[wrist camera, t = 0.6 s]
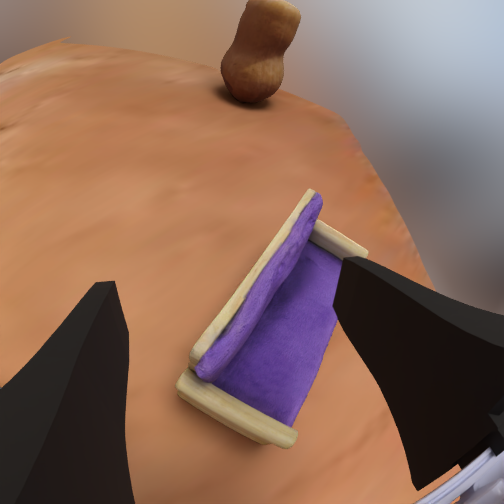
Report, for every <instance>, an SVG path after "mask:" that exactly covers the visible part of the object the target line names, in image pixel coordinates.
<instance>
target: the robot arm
mask: <svg viewBox="0 0 504 504" xmlns="http://www.w3.org/2000/svg"><path fill="white" fill-rule="evenodd" d="M332 307H333V309H334V311H335V314H336V316H337V318H338V320H339V322H340V324H341V326H342V328H343V330H344V332H345V334H346V335H347V337H348V338H349V340H350V341H351V343H352V344H353V346H354V348H355V349H356V351H357V352H358V354H359V355H360V357H361V358H362V360H363V361H364V363H365V364H366V366H367V367H368V369H369V371H370V372H371V374H372V375H373V377H374V378H375V380H376V382H377V384H378V385H379V387H380V389H381V391H382V393H383V396H384V398H385V400H386V402H387V404H388V406H389V409H390V411H391V413H392V416H393V418H394V421H395V423H396V426H397V428H398V431H399V434H400V437H401V440H402V443H403V446H404V450H405V453H406V457H407V461H408V465H409V469H410V474H411V479H412V483H413V485H414V486H415V488H416V490H417V491H419V490H421V489H422V488H424V487H425V486H427V485H428V484H430V483H431V482H433V481H434V480H436V479H437V478H439V477H440V476H442V475H443V474H445V473H446V472H447V471H449V470H450V469H452V468H453V467H454V466H456V465H457V464H458V465H459V466H460V468H461V469H462V470H460V471H459V472H458V473H457V474H455V475H454V476H453V477H451V478H450V479H449V480H447V481H446V482H445V483H443V484H442V485H440V486H439V487H437V488H436V489H435V490H433V491H432V492H430V493H429V494H427V495H426V496H424V497H422V498H421V499H419V500H418V501H416V502H415V503H413V504H450V503H451V502H452V501H454V500H455V499H456V498H457V497H459V496H460V500H459V501H457V502H455V503H454V504H504V315H500V314H496V313H492V312H489V311H485V310H482V309H478V308H475V307H472V306H469V305H467V304H464V303H461V302H459V301H456V300H453V299H451V298H448V297H446V296H444V295H442V294H439V293H437V292H435V291H433V290H431V289H429V288H426V287H424V286H422V285H420V284H418V283H416V282H414V281H412V280H410V279H408V278H406V277H404V276H402V275H400V274H398V273H396V272H394V271H392V270H390V269H388V268H386V267H384V266H381V265H379V264H377V263H375V262H373V261H370V260H368V259H365V258H363V257H360V256H353V257H345V258H343V261H342V266H341V270H340V275H339V279H338V284H337V288H336V292H335V297H334V301H333V305H332ZM128 370H129V331H128V328H127V325H126V321H125V318H124V314H123V311H122V307H121V303H120V300H119V296H118V292H117V288H116V284H115V281H106V282H96V283H95V284H94V285H93V286H92V287H91V288H90V289H89V290H88V292H87V293H86V294H85V295H84V297H83V298H82V299H81V300H80V301H79V303H78V304H77V305H76V306H75V308H74V309H73V310H72V311H71V313H70V314H69V315H68V316H67V317H66V319H65V320H64V321H63V322H62V324H61V325H60V326H59V327H58V328H57V330H56V331H55V332H54V333H53V334H52V335H51V337H50V338H49V339H48V340H47V341H46V342H45V344H44V345H43V346H42V347H41V348H40V350H39V351H38V352H37V353H36V354H35V355H34V356H33V357H32V358H31V359H30V361H29V362H28V363H27V364H26V365H25V366H24V367H23V368H22V369H21V370H20V371H19V372H18V373H17V374H16V375H15V376H14V377H13V378H12V379H11V380H10V381H9V382H8V383H6V384H5V385H4V386H3V387H2V388H1V389H0V504H135V501H134V496H133V491H132V486H131V480H130V474H129V467H128V460H127V451H126V441H125V411H126V395H127V382H128Z"/></svg>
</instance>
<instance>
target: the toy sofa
mask: <svg viewBox="0 0 504 504" xmlns="http://www.w3.org/2000/svg"><path fill="white" fill-rule="evenodd" d="M322 205H323V201H322V197H321V195H320V194H319V193H317V192H315V191H314V190H312V189H310V188H309V189H308V190H307V191H306V193H305V194H304V196H303V197H302V199H301V200H300V202H299V203H298V205H297V206H296V208H295V209H294V211H293V212H292V214H291V215H290V216H289V218H288V219H287V221H286V222H285V223H284V225H283V226H282V228H281V229H280V230H279V232H278V233H277V234H276V236H275V237H274V239H273V240H272V242H271V243H270V244H269V246H268V247H267V248H266V250H265V251H264V253H263V254H262V255H261V257H260V258H259V259H258V261H257V262H256V264H255V265H254V266H253V268H252V269H251V271H250V272H249V273H248V275H247V276H246V278H245V279H244V280H243V282H242V283H241V285H240V286H239V287H238V289H237V290H236V291H235V293H234V294H233V295H232V297H231V298H230V299H229V301H228V302H227V303H226V305H225V306H224V307H223V309H222V310H221V311H220V313H219V314H218V315H217V317H216V318H215V319H214V320H213V322H212V323H211V324H210V325H209V326H208V328H207V329H206V330H205V331H204V333H203V334H202V335H201V337H200V338H199V339H198V341H197V342H196V343H195V345H194V346H193V348H192V350H191V352H190V355H189V359H190V362H189V366H188V368H187V369H186V370H185V371H184V372H183V373H182V375H181V376H180V378H179V379H178V381H177V383H176V384H175V388H176V389H177V390H178V393H177V394H178V396H179V397H181V398H182V399H184V400H185V401H187V402H188V403H190V404H191V405H193V406H194V407H196V408H198V409H199V410H201V411H202V412H204V413H205V414H207V415H209V416H210V417H212V418H214V419H215V420H217V421H219V422H220V423H222V424H224V425H226V426H227V427H229V428H231V429H233V430H234V431H236V432H238V433H240V434H242V435H244V436H246V437H248V438H250V439H252V440H254V441H255V442H257V443H259V444H262V445H267V444H274V445H276V446H278V447H280V448H282V449H289V448H290V447H292V446H293V445H294V443H295V441H296V439H297V436H298V431H297V430H295V429H293V428H291V427H292V425H293V423H294V421H295V418H296V416H297V414H298V412H299V410H300V408H301V406H302V405H303V403H304V401H305V398H306V397H307V394H308V392H309V390H310V388H311V386H312V384H313V382H314V379H315V377H316V375H317V372H318V370H319V367H320V365H321V362H322V360H323V355H324V352H325V350H326V347H327V346H328V342H329V340H330V337H331V336H332V332H333V330H334V327H335V326H336V322H337V320H338V318H337V316H336V314H335V311H334V309H333V307H332V305H333V301H334V297H335V292H336V288H337V284H338V279H339V275H340V270H341V266H342V261H343V258H345V257H353V256H360V257H363V258H365V259H366V258H367V255H368V251H367V250H366V249H365V248H363V247H361V246H360V245H358V244H357V243H355V242H354V241H352V240H350V239H349V238H347V237H346V236H344V235H343V234H341V233H339V232H338V231H336V230H335V229H333V228H332V227H330V226H328V225H327V224H325V223H323V222H322V221H320V220H318V219H317V218H318V215H319V213H320V211H321V208H322Z"/></svg>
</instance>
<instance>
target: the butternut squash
mask: <svg viewBox="0 0 504 504" xmlns="http://www.w3.org/2000/svg"><path fill="white" fill-rule="evenodd" d="M300 19H301V15H300V12H299V10H298V9H297V8H296V7H294V6H293V5H292V4H290V3H288V2H286V1H283V0H249V1H248V2H247V4H246V8H245V11H244V12H243V14H242V16H241V18H240V22H239V25H238V29H237V33H236V36H235V39H234V41H233V43H232V45H231V47H230V48H229V50H228V51H227V52H226V54H225V55H224V58H223V60H222V62H221V74H222V77H223V79H224V82H225V85H226V87H227V88H228V90H229V91H230V93H231V94H232V95H233V97H234V98H235V99H237V100H238V101H240V102H258V101H261V100H264V99H266V98H268V97H270V96H271V95H273V94H274V93H275V92H276V91H277V90H278V89H279V87H280V85H281V83H282V80H283V76H284V71H283V70H284V66H283V56H284V52H285V51H286V49H287V48H288V47H289V45H290V44H291V42H292V41H293V38H294V36H295V34H296V31H297V28H298V26H299V23H300Z"/></svg>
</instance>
